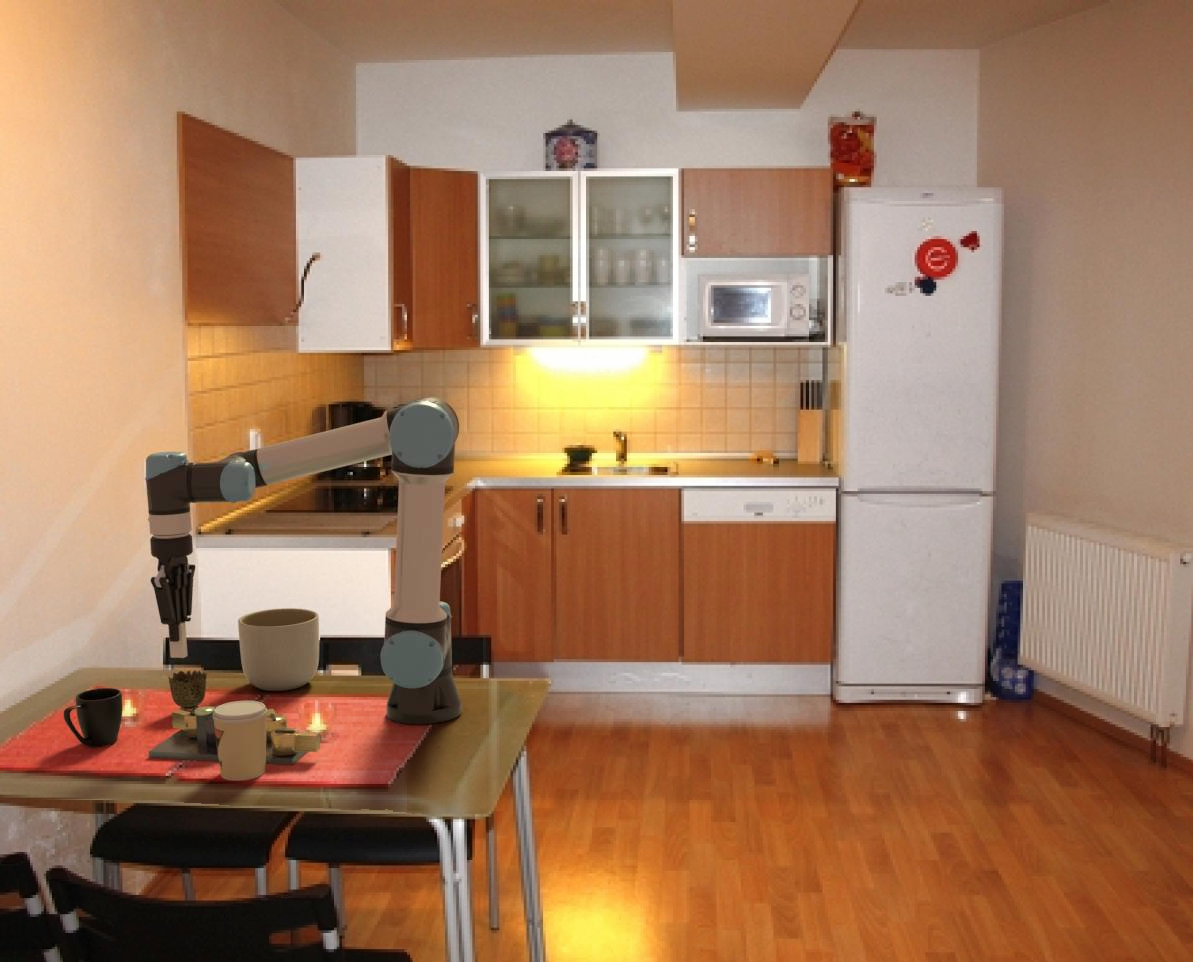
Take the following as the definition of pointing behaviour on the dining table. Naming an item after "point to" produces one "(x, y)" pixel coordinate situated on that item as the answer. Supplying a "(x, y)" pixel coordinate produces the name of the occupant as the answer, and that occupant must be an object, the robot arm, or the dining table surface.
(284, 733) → the knob
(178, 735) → the plate
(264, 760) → the coffee cup
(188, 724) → the knob
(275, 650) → the planter
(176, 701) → the cup
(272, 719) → the knob
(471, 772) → the dining table surface
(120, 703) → the mug
